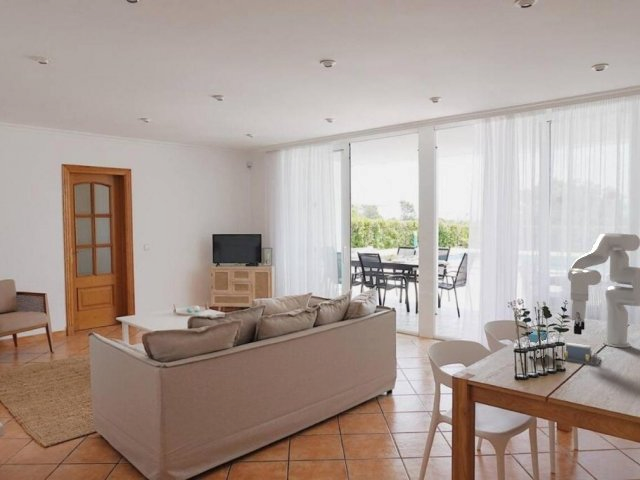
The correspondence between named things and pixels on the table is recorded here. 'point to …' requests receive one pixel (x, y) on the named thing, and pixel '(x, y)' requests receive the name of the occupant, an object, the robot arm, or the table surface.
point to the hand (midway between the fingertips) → (579, 331)
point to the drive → (578, 350)
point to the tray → (593, 359)
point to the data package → (534, 337)
